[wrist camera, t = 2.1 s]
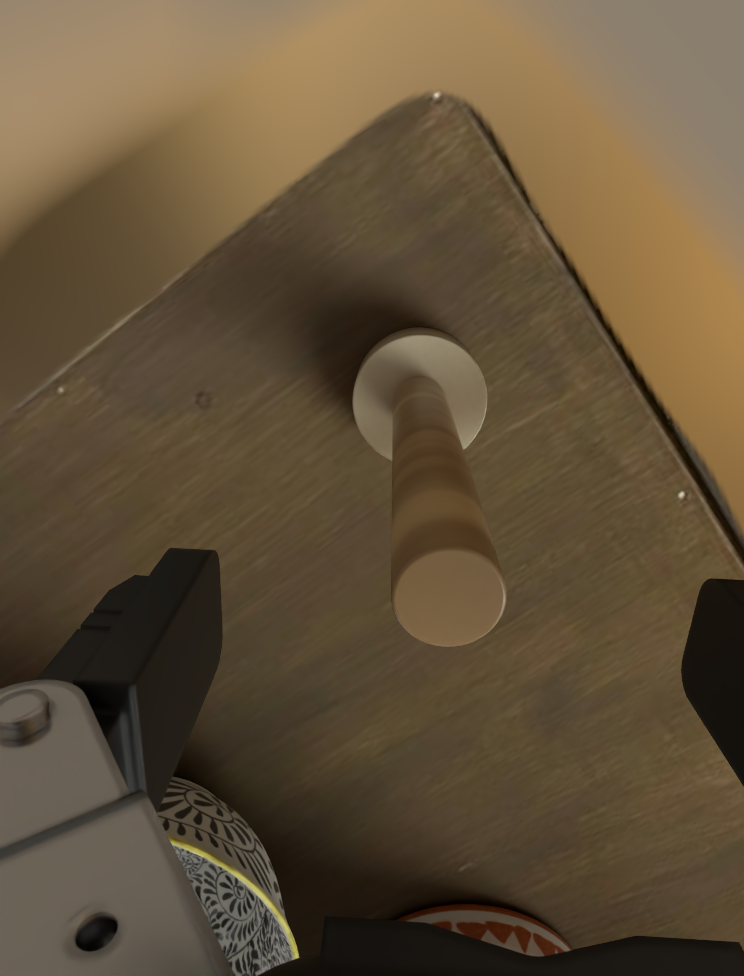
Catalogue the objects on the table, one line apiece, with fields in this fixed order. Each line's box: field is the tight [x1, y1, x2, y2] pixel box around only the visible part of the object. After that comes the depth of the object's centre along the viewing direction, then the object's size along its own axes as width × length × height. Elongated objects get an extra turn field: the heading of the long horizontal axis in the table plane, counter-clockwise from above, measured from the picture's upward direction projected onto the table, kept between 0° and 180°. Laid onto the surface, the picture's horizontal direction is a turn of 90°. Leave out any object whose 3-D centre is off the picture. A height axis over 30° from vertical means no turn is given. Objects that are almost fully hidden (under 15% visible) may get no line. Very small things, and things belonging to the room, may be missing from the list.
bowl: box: [157, 777, 299, 976], centre depth 32 cm, size 16×16×8 cm
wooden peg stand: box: [352, 327, 507, 647], centre depth 19 cm, size 5×5×16 cm
